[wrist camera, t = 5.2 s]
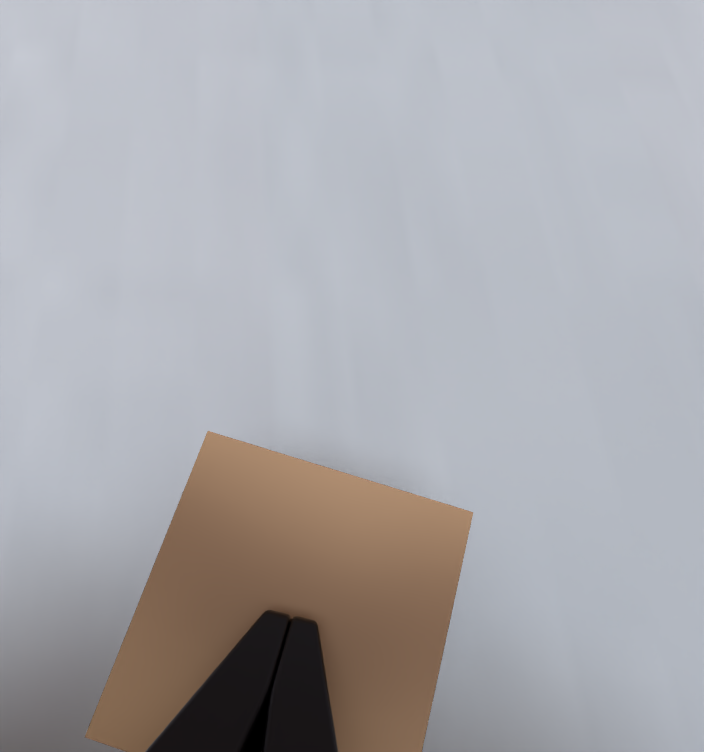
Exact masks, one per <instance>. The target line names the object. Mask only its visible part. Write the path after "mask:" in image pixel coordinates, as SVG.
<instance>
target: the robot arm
mask: <svg viewBox="0 0 704 752" xmlns="http://www.w3.org/2000/svg"><path fill="white" fill-rule="evenodd" d="M145 752H338V747H337V741H336V735H335V728H334V722H333V716H332V709H331V703H330V697H329V691H328V684H327V678H326V672H325V665H324V659H323V653H322V647H321V640H320V634H319V628H318V624H317V622H316V621H314V620H311V619H307V618H303V617H299V616H294V617H293V618H292V619H291V617H290V615H288V614H286V613H282V612H278V611H273V610H266V611H265V612H264V613H263V614H262V615H261V616H260V617H259V618H258V619H257V621H256V622H255V623H254V624H253V625H252V626H251V628H250V629H249V630H248V631H247V632H246V633H245V635H244V636H243V637H242V638H241V639H240V641H239V642H238V643H237V644H236V645H235V646H234V648H233V649H232V650H231V651H230V652H229V653H228V655H227V656H226V657H225V658H224V659H223V661H222V662H221V663H220V664H219V665H218V666H217V668H216V669H215V670H214V671H213V672H212V673H211V675H210V676H209V677H208V678H207V679H206V680H205V682H204V683H203V684H202V685H201V686H200V688H199V689H198V690H197V691H196V692H195V693H194V695H193V696H192V697H191V698H190V699H189V700H188V702H187V703H186V704H185V705H184V706H183V708H182V709H181V710H180V711H179V712H178V713H177V715H176V716H175V717H174V718H173V719H172V720H171V722H170V723H169V724H168V725H167V726H166V728H165V729H164V730H163V731H162V732H161V733H160V735H159V736H158V737H157V738H156V739H155V740H154V742H153V743H152V744H151V745H150V746H149V747H148V749H147V750H146V751H145Z"/></svg>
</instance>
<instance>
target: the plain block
mask: <svg viewBox="0 0 704 752" xmlns="http://www.w3.org/2000/svg"><path fill="white" fill-rule="evenodd" d="M472 516H473V512H470V511H467V510H464V509H461V508H457V507H454V506H451V505H448V504H444V503H441V502H438V501H434V500H431V499H428V498H425V497H421V496H418V495H415V494H412V493H408V492H405V491H402V490H399V489H395V488H392V487H389V486H386V485H382V484H379V483H376V482H373V481H369V480H366V479H363V478H359V477H356V476H353V475H350V474H346V473H343V472H340V471H337V470H333V469H330V468H327V467H324V466H320V465H317V464H314V463H311V462H307V461H304V460H301V459H298V458H294V457H291V456H288V455H285V454H281V453H278V452H275V451H271V450H268V449H265V448H262V447H258V446H255V445H252V444H249V443H245V442H242V441H239V440H236V439H232V438H229V437H226V436H223V435H219V434H216V433H213V432H210V431H208V432H207V434H206V437H205V439H204V442H203V444H202V447H201V449H200V452H199V454H198V457H197V459H196V462H195V464H194V467H193V469H192V472H191V474H190V476H189V479H188V481H187V484H186V486H185V489H184V491H183V494H182V496H181V499H180V501H179V504H178V506H177V509H176V511H175V514H174V516H173V519H172V521H171V524H170V526H169V529H168V531H167V534H166V536H165V539H164V541H163V544H162V546H161V549H160V551H159V554H158V556H157V558H156V561H155V563H154V566H153V568H152V571H151V573H150V576H149V578H148V581H147V583H146V586H145V588H144V591H143V593H142V596H141V598H140V601H139V603H138V606H137V608H136V611H135V613H134V616H133V618H132V621H131V623H130V626H129V628H128V631H127V633H126V636H125V638H124V640H123V643H122V645H121V648H120V650H119V653H118V655H117V658H116V660H115V663H114V665H113V668H112V670H111V673H110V675H109V678H108V680H107V683H106V685H105V688H104V690H103V693H102V695H101V698H100V700H99V703H98V705H97V708H96V710H95V713H94V715H93V718H92V720H91V722H90V725H89V727H88V730H87V732H86V735H85V737H86V738H89V739H91V740H94V741H97V742H100V743H103V744H106V745H109V746H112V747H115V748H117V749H120V750H123V751H126V752H145V751H146V750H147V749H148V747H149V746H150V745H151V744H152V743H153V742H154V740H155V739H156V738H157V737H158V736H159V735H160V733H161V732H162V731H163V730H164V729H165V728H166V726H167V725H168V724H169V723H170V722H171V720H172V719H173V718H174V717H175V716H176V715H177V713H178V712H179V711H180V710H181V709H182V708H183V706H184V705H185V704H186V703H187V702H188V700H189V699H190V698H191V697H192V696H193V695H194V693H195V692H196V691H197V690H198V689H199V688H200V686H201V685H202V684H203V683H204V682H205V680H206V679H207V678H208V677H209V676H210V675H211V673H212V672H213V671H214V670H215V669H216V668H217V666H218V665H219V664H220V663H221V662H222V661H223V659H224V658H225V657H226V656H227V655H228V653H229V652H230V651H231V650H232V649H233V648H234V646H235V645H236V644H237V643H238V642H239V641H240V639H241V638H242V637H243V636H244V635H245V633H246V632H247V631H248V630H249V629H250V628H251V626H252V625H253V624H254V623H255V622H256V621H257V619H258V618H259V617H260V616H261V615H262V614H263V613H264V612H265V611H266V610H273V611H278V612H282V613H286V614H288V615H290V617H291V619H292V618H293V617H294V616H299V617H303V618H307V619H311V620H314V621H316V622H317V624H318V628H319V634H320V640H321V647H322V653H323V659H324V665H325V672H326V678H327V684H328V691H329V697H330V703H331V709H332V716H333V722H334V728H335V735H336V741H337V747H338V752H422V748H423V743H424V739H425V734H426V729H427V725H428V720H429V715H430V711H431V706H432V702H433V697H434V692H435V688H436V683H437V678H438V674H439V669H440V664H441V660H442V655H443V650H444V646H445V641H446V636H447V632H448V627H449V623H450V618H451V613H452V609H453V604H454V599H455V595H456V590H457V585H458V581H459V576H460V571H461V567H462V562H463V557H464V553H465V548H466V544H467V539H468V534H469V530H470V525H471V520H472Z"/></svg>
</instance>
